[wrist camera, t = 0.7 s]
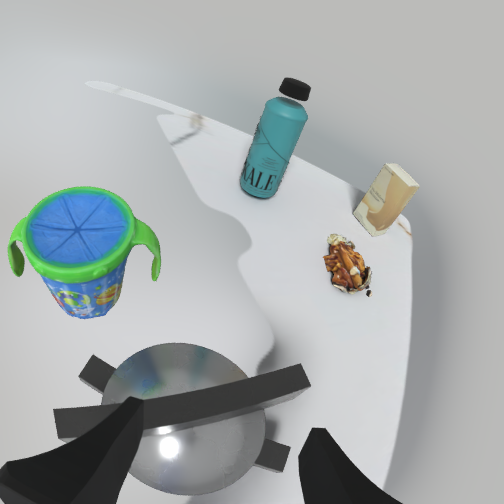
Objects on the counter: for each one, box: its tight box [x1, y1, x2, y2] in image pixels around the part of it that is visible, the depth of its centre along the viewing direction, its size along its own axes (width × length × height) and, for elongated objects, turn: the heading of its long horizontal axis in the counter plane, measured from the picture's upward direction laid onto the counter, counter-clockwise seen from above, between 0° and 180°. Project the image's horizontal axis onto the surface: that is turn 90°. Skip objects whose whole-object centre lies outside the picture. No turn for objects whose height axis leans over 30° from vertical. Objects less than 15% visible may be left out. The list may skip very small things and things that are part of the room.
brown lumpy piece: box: [323, 234, 372, 297], centre depth 44 cm, size 7×12×4 cm, turn 6°
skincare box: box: [353, 163, 420, 236], centre depth 51 cm, size 6×4×12 cm
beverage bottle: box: [240, 78, 311, 198], centre depth 44 cm, size 6×7×20 cm
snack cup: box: [8, 187, 161, 319], centre depth 26 cm, size 16×10×10 cm
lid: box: [53, 343, 311, 495], centre depth 19 cm, size 18×13×4 cm
